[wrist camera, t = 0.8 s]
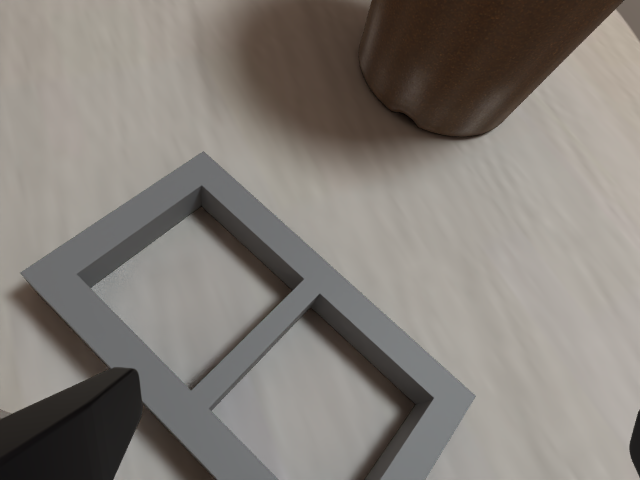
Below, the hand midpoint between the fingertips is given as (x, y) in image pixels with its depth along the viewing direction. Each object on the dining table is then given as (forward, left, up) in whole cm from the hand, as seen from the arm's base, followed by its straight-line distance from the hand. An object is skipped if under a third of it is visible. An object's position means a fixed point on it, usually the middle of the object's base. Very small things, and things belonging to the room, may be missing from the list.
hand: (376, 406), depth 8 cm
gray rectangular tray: (+3, +4, -13) cm, 14 cm away
